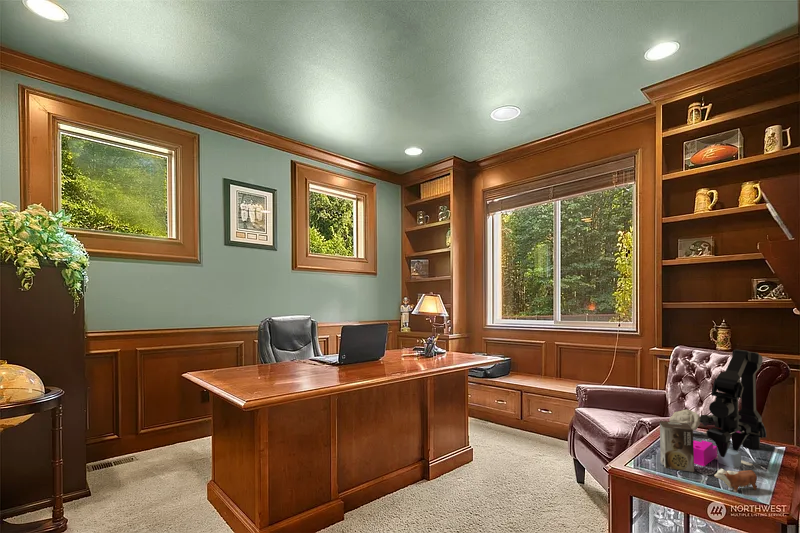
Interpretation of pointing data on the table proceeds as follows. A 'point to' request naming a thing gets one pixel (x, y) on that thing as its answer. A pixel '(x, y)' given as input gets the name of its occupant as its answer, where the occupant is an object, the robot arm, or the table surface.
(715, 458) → the letter
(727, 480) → the bull figurine
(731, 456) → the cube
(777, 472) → the table surface
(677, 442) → the beige tall box
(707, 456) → the toy block
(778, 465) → the table surface
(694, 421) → the fossil replica
